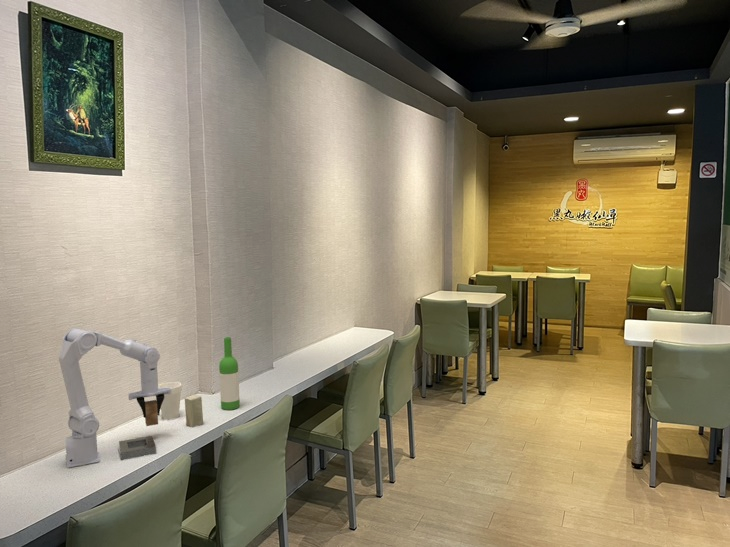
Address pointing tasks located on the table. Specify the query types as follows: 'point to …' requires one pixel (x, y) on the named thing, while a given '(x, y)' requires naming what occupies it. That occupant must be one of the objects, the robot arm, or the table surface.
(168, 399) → the foam cup
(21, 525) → the table surface
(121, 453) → the collar
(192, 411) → the box
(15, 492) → the table surface
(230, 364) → the wine bottle
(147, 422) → the peg
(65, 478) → the table surface
